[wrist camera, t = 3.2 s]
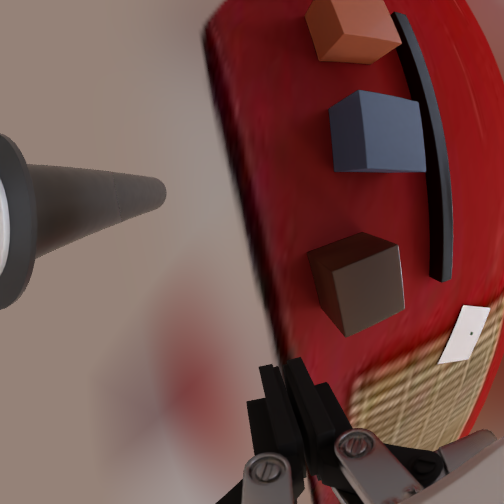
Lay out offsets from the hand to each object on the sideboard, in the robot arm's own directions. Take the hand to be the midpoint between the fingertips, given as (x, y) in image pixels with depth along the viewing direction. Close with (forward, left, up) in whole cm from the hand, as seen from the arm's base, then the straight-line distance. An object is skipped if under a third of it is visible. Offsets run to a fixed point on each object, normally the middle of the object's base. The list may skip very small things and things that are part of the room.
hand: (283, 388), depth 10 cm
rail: (+18, +10, -11) cm, 23 cm away
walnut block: (+7, 0, -11) cm, 13 cm away
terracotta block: (+11, +20, -11) cm, 25 cm away
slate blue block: (+10, +10, -11) cm, 18 cm away
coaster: (+26, -13, -11) cm, 31 cm away
